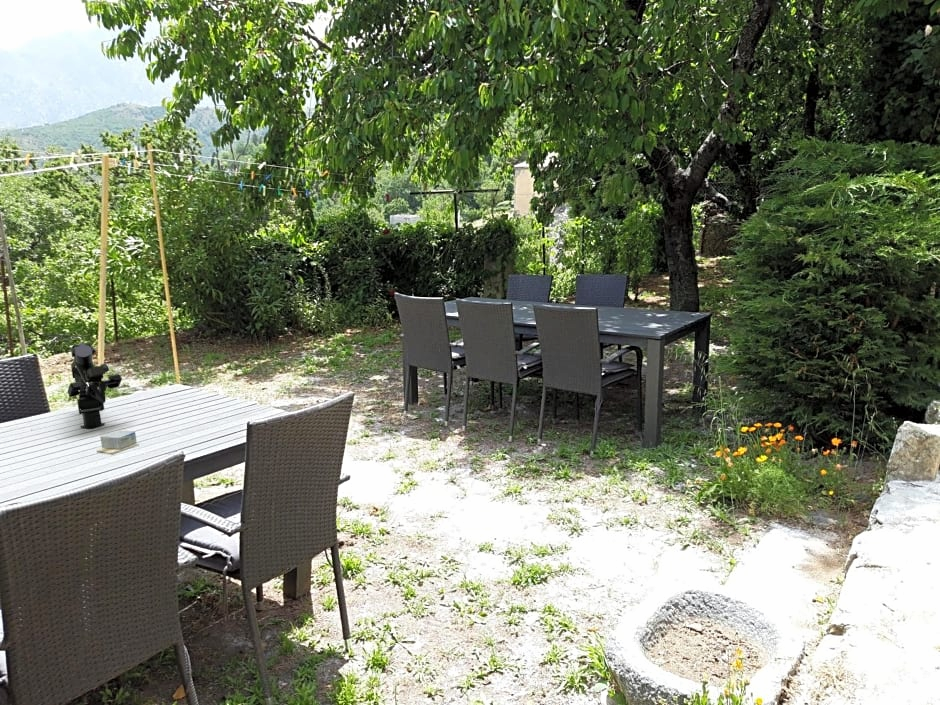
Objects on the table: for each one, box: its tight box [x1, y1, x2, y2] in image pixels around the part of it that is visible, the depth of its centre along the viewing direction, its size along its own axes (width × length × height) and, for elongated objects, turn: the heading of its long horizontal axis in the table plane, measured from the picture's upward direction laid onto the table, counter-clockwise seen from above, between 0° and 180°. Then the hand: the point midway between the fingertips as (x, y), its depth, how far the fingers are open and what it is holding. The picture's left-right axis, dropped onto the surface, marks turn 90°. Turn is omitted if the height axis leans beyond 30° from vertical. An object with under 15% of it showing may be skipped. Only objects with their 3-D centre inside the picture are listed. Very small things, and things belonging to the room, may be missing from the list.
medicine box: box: [100, 429, 137, 449], centre depth 251 cm, size 8×4×9 cm
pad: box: [96, 442, 140, 456], centre depth 250 cm, size 8×11×1 cm
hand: (104, 402), depth 267 cm, fingers closed
